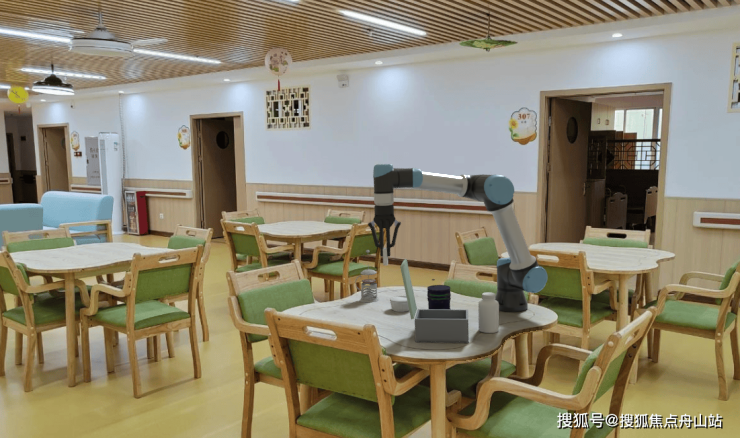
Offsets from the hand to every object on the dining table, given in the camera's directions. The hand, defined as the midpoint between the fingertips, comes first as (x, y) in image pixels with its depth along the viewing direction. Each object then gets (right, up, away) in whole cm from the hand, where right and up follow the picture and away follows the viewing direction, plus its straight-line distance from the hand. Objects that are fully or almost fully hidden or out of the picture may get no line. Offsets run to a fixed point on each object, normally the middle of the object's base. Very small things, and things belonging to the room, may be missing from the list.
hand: (385, 264), depth 227 cm
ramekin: (+9, -24, +42) cm, 50 cm away
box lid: (+10, -9, 0) cm, 13 cm away
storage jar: (+23, -26, +20) cm, 40 cm away
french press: (-7, -22, +62) cm, 66 cm away
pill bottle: (+41, -27, +6) cm, 50 cm away
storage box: (+22, -28, 0) cm, 36 cm away
